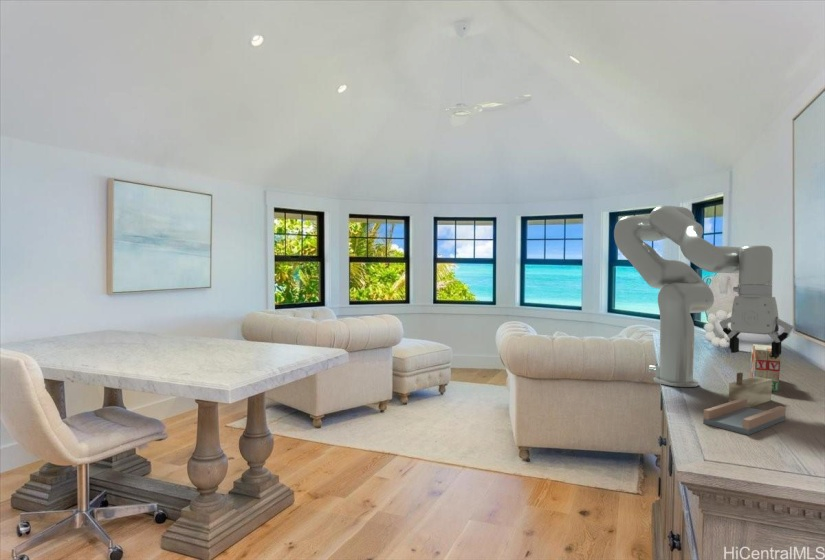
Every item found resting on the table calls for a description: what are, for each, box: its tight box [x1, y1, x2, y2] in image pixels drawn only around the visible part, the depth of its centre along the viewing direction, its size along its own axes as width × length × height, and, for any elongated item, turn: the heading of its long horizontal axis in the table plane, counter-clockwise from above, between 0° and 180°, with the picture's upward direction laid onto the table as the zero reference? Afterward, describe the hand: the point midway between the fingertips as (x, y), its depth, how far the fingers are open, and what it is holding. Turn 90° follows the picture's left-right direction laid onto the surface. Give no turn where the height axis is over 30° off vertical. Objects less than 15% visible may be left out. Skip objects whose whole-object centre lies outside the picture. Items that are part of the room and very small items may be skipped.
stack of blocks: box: [749, 343, 782, 392], centre depth 159 cm, size 21×6×12 cm, turn 149°
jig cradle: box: [702, 398, 787, 436], centre depth 118 cm, size 9×20×3 cm, turn 125°
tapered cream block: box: [728, 372, 772, 408], centre depth 135 cm, size 4×16×9 cm, turn 124°
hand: (754, 354), depth 134 cm, fingers open, 9 cm apart
